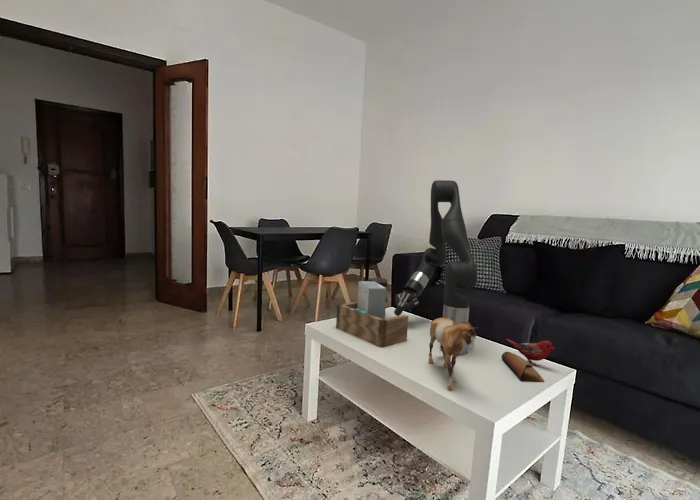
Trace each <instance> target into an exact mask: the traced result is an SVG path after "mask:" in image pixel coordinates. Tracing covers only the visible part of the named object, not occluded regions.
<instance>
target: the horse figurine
mask: <svg viewBox="0 0 700 500" xmlns="http://www.w3.org/2000/svg"><path fill="white" fill-rule="evenodd" d="M477 329H479V327H476V326H475V327H474V326H472V325H471V322H469V321H468V322H458V323H456V324H454V322H453V321H452V320H451V319H448V318H443V317H439V318H435V319H434V320H432V321H431V324H430V330H429V334H430V335H429V336H430V342H429V345H428V347H429V353H428V363H429V364H434V359H433V354H432V352H433V348H434V343H435V341H437V343H439V345H440V344H441V349H442V350H441V349H440V350H441V352H442V359H443V361H444V362H443V363H442V367H443V369H447V371H448V383H447V390H448V391H452V390H453V383H457V381H456V380H457V379H456V377H455V372H454V367H455V365H456V363H457V358H458V356H460V355H459V353H460V351H461V350H462V349H463V346H464V344H463V339H464V340H465V342H466V344H467V345H468V351H473V350H474V348H475V338H476V336H477V333H476V330H477ZM451 356H452V357H451Z"/></svg>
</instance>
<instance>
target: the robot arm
mask: <svg viewBox="0 0 700 500" xmlns="http://www.w3.org/2000/svg"><path fill="white" fill-rule="evenodd" d="M430 188H431V189H430V231H429V241H428V243H429V244H430V246H432V247H427V249H426V250H424V252H423V254H422V259H421V261H420V264H419V266H418V268H416V270H415V272H414V273H413V274H412V275H411V277H410V278H409V280H408V281H407V282H406V284H405V285H404V289H403V290H402V291H401V292H400V293H399V294H398V293H395V294H394V301H395V302H394V303H395V305H396V308H395V309H394V311H393V313H394V315H395V317H396V316H401V314H402V313H403V312H404V311H405V310H410V309H412V308H414V307H416V306H418V305H419V304H420V301H419V300H418V297H420V296H421V294H422V293H423V291H424V289H425V288H426V286H427V284H428V282H429V281H430V279H432V276H433V274H435V273H434V272H435V269H434V267H433V266H432V265H434V266H436V267H443V266H444V265H445V264H446V263H447V264H446V266H445V270H444V288H443V291H444V292H443V310H442V318H448V319H451V320H452V321H453V322H454V324H456V323H458V322H468V323H469V315H470V305H471V302H470V299H469V297H466V296H465V295H463V294H460V293H459V292H457V288H465V289H466V288H467V289H468V288H473V287H475V286H476V285H477V283H478V271H477V267H476V264H475V263H476V262H475V261H474V260H475V259H474V257H473V254H472V251H471V247H470V243H469V238H468V234H467V228H466V224H465V219H464V215H463V211H462V207H461V206H462V205H461V197H460V190H459V185H458V183H457V181H455V180H443V179H442V180H441V179H440V180H438V179H437V180H434V181H433V182H432V183H431V187H430ZM439 203H449V204H450V207H449V209H448V211H447V212H446V213H445V215H444V216H443V217H442V215H441V213H440V210H439V209H440V208H439ZM446 245H447V247H449V248H450V249H451V250H452V251H453V253H455V255H456V256H457V257H458V259H459V261H449V262H447V260H448V254H447V248H446ZM463 344H464V346H463V349H462V350H461V351H460V353H459V355H458V356H460V355H463V354H466V353H468V351H469V349H468V345H467V344H466V342H465V340H464V339H463ZM439 345H440V346H439V349H440V351H442V349H441V344H440V343H439Z"/></svg>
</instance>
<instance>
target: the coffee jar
mask: <svg viewBox="0 0 700 500" xmlns="http://www.w3.org/2000/svg"><path fill="white" fill-rule="evenodd" d="M366 281H374V282H376V283H378V284H380V285H382V286H383V287H385V288H386V291H387V289H388V280H387V279H386V278H385V277H384V278H383V277H369V278H367V280H366Z"/></svg>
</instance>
